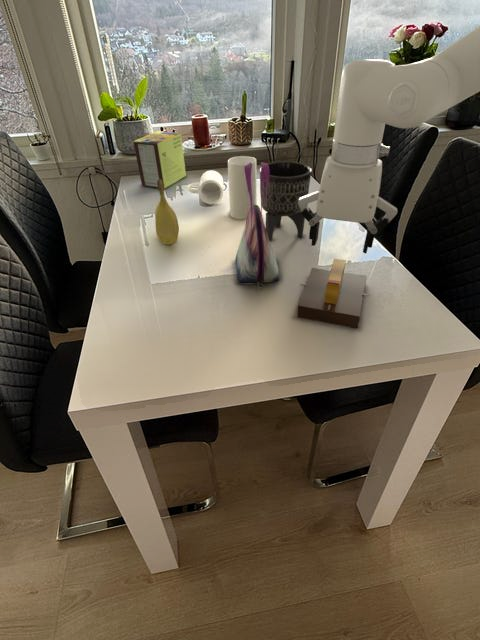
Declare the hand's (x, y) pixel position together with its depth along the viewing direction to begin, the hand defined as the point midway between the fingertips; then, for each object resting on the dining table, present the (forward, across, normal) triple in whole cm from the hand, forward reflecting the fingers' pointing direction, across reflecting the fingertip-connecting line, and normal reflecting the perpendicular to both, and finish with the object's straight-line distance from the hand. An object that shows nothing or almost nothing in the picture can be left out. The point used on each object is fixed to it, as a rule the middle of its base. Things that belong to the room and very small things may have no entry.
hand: (339, 246), depth 72 cm
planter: (+14, +18, -28) cm, 36 cm away
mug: (+14, +49, -46) cm, 68 cm away
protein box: (+14, +72, -59) cm, 94 cm away
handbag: (+14, +19, -7) cm, 24 cm away
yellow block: (+10, 0, 0) cm, 10 cm away
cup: (+14, +33, -38) cm, 52 cm away
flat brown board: (+13, 0, 0) cm, 13 cm away
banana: (+14, +47, -15) cm, 51 cm away
